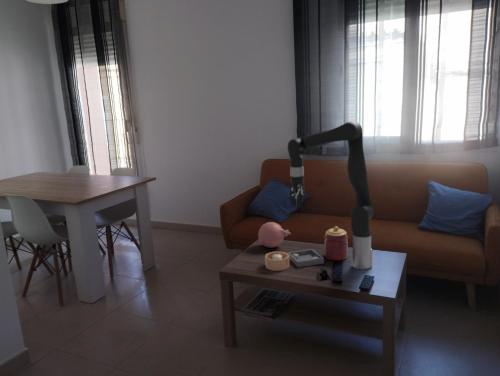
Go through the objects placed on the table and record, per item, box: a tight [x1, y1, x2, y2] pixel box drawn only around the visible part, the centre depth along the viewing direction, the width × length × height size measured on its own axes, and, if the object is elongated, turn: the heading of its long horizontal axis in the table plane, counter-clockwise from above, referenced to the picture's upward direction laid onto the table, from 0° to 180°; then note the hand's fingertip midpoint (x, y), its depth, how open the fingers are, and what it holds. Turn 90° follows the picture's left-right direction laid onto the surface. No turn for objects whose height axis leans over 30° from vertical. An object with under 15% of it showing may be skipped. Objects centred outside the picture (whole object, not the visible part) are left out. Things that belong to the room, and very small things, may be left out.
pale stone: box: [272, 254, 282, 260], centre depth 220 cm, size 5×5×5 cm
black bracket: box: [315, 267, 332, 282], centre depth 205 cm, size 12×7×5 cm, turn 3°
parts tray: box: [287, 248, 325, 268], centre depth 226 cm, size 15×15×3 cm
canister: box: [323, 225, 349, 261], centre depth 228 cm, size 13×13×18 cm
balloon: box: [257, 221, 292, 249], centre depth 247 cm, size 15×20×15 cm
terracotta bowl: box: [264, 251, 290, 272], centre depth 220 cm, size 13×13×6 cm
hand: (297, 203), depth 230 cm, fingers open, 8 cm apart
